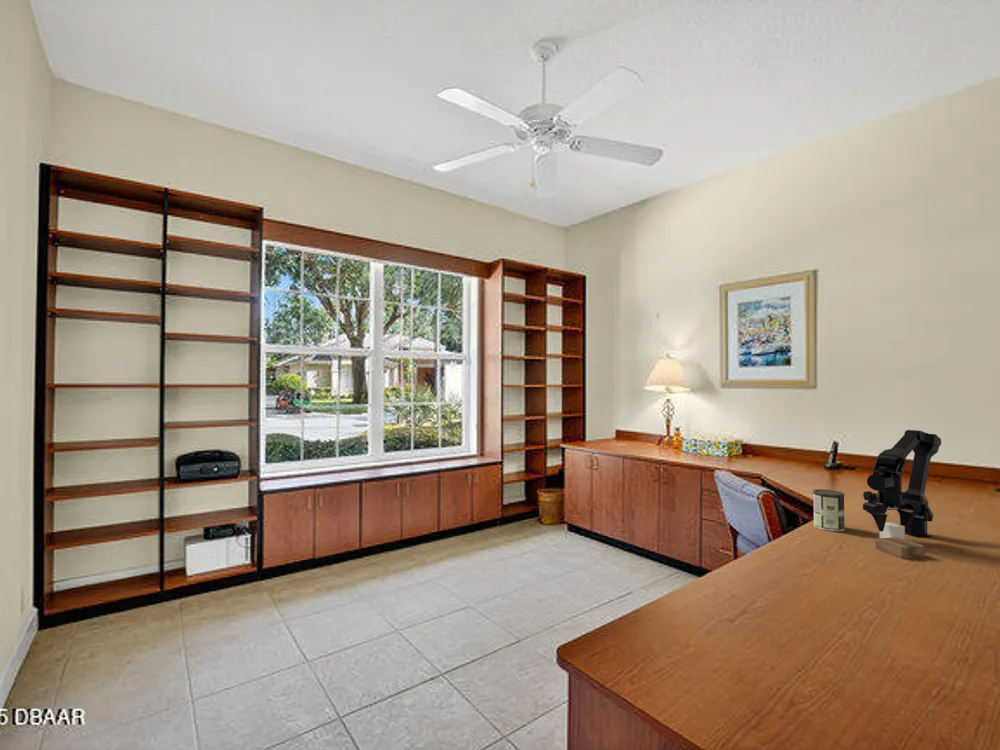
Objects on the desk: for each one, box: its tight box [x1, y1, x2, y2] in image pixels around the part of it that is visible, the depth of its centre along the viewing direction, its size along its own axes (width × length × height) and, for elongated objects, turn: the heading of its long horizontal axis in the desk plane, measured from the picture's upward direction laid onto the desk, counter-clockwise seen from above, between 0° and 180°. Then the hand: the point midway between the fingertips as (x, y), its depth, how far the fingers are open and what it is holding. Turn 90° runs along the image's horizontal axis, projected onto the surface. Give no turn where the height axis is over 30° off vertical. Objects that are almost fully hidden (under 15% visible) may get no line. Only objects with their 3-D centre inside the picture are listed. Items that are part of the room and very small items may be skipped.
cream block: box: [879, 521, 906, 540], centre depth 172 cm, size 5×5×6 cm
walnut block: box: [875, 537, 926, 560], centre depth 159 cm, size 9×9×4 cm
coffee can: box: [812, 488, 846, 532], centre depth 188 cm, size 10×10×14 cm
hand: (892, 530), depth 172 cm, fingers open, 9 cm apart
